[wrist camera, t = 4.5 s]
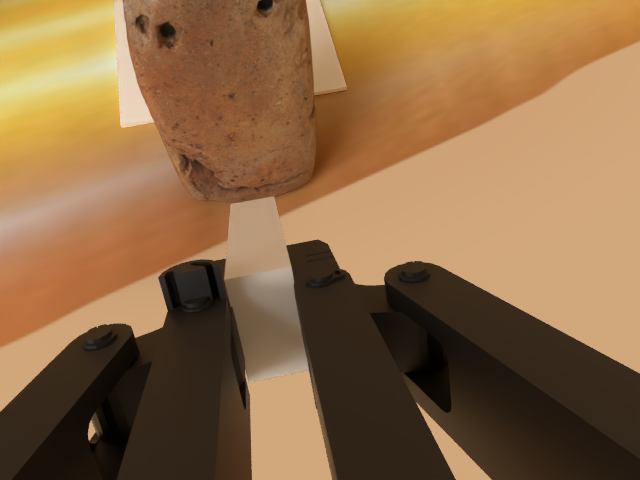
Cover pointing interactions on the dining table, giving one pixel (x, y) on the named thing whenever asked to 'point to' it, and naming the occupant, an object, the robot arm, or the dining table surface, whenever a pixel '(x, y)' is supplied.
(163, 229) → the dining table surface
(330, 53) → the mat
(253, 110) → the block
